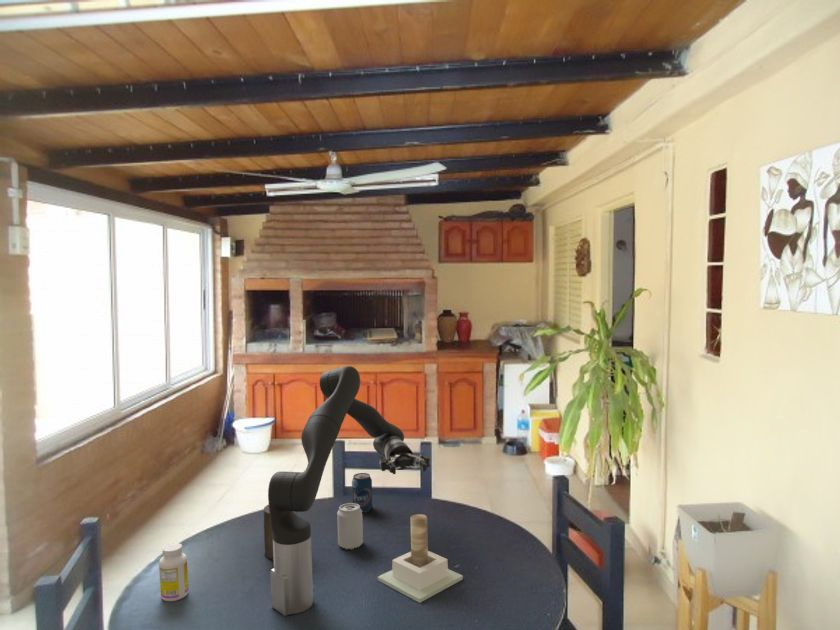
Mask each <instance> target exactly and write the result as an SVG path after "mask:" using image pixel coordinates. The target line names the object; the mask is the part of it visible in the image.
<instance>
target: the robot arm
mask: <svg viewBox="0 0 840 630" xmlns="http://www.w3.org/2000/svg"><path fill="white" fill-rule="evenodd" d="M360 386H361V377H360V374H359V371H358V370H357V368H355V367H354V366H352V365H345V366H339V367H337V368H334V369H329V370H328V371H325V372H323V373H322V374H321V375H320V378H319V388H320V391H321V393H322V395H323V396H324V397H325V398H326V400H325V401H323V402H322V403H321V404H320V405H319V406H318V407H317V408H315V410H314V411H313V412H311V414H310V416H309V417H308V419H307V421H306V424H305V425H304V427H303V430H302V432H301V435H300V436H301V437H300V438H301V439H300V440H301V445H302V447H303V451H304V453H305V455H306V456H305V457H306V459H307V466H306V468H305V470H304V471H302V472H300V471H299V472H298V471H297V472H296V471H277V472H275V473H273V474H272V476H271V478H270V481H269V484H268V489H267V491H268V492H267V498H268V499H267V500H268V504H269V512H270V525H271V531H272V534H273V558H274V560H273V568H272V569H270V593H271V594H270V595H271V596H270V597H271V608H273V609H275V611H277V612H279V614H281V615H283V616H284V617H285V616H288V615H294V614H300V613H304V612H305V611H307V610H309V609H310V608H311V607H312V606H313V604H314V589H313V587H314V586H313V557H312V555H313V554H312V527H311V524H310V523H309V521H308V520H306V519H305V518H302V517H300V516H299V515H298V514H297V515H296V514H295V513H294V512H293V511H295V512H297V513H299V512H300V513H301V512H303V513H304V512H308V511H309V510H310V509H311V508H312V506H313V504H314V503H315V500H316V497H317V494H318V491H319V489H320V485H321V481H322V477H323V475H324V471H325V467H326V465H327V461H328V459H329V457H330V454H331V453H332V450H333V447H334V445H335V443H336V442H337V441H336V440H337V439H338V436H339V433H340V430H341V428H342V425H343V424H344V423H343V422H344V420H345V419H346V417H347V416H346V415H348V416H349V417H351V418H352V419H354V421H356V423H358V425H360V426H361V427H362V429H364V431H365V432H366V433H367V434H368V435H369V437H371V438H374V439H373V443H372V445H373V449H374V450H375V451H376V453H378V454H379V455H380V457H379V467H380V469H381V471H382V472H385V471H387V472H389V473H390V474H392V475H396V474H397V472H396V471H402V470H403V471H404V470H406V469H408V468H412V469H420V471H421V472H422V473H423V472H424V473H425V472H426V471H427V469H428V468H430V466H431V463H430V461H431V460H430V459H431V458H430V457H429V456H428V455H426V453H420V455H415V454H414V453H413V450H412V449H411V448H410V447H409V446H408V445H407V443H406V442H405V441H404V439H405V434H404V432H403V430H401V429H400V428H399V427H398V426H397V425H394V424H392V423H390V422H389V421H387V420H386V419H385V418H384V416H382V415H381V413H380V412H379V411H378V410H377V409H376V408H375V407H373V406H372V405H370V404H369V403H366V402H363V401H361V400H359V399H357V398H356V397H357V395H358V393H359V391H360V388H361V387H360Z"/></svg>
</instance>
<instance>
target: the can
mask: <svg viewBox="0 0 840 630" xmlns="http://www.w3.org/2000/svg"><path fill="white" fill-rule="evenodd" d="M336 515H337V517H336V519H337V523H336V524H337V544H338V546H339V547H340V548H341V547H342V549H343V548H345V549H344V550H348V549H350V550H355V549H354V548H356V549H358V548H359V547H361V546H362V545H363V543H364V536H363V535H364V534H363V533H364V531H363V527H364V525H363V513H362V510H361V509H360V506H359V505H358V504H355V503H352V502H347V503H344V504H341V505H340V506H339V507H338V511H337V512H336ZM357 547H358V548H357Z"/></svg>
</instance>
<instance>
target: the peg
mask: <svg viewBox="0 0 840 630" xmlns="http://www.w3.org/2000/svg"><path fill="white" fill-rule="evenodd" d="M409 522H410V524H409V525H410V552H411V564H412V565H414V566H417V567H419V568H421V567H423V566H425V565H427V564H428V551H429V549H428V548H429V545H428V517H427V515H425V514H422V513H421V514H419V513H417V514H413V515H411V516H410V521H409Z"/></svg>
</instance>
